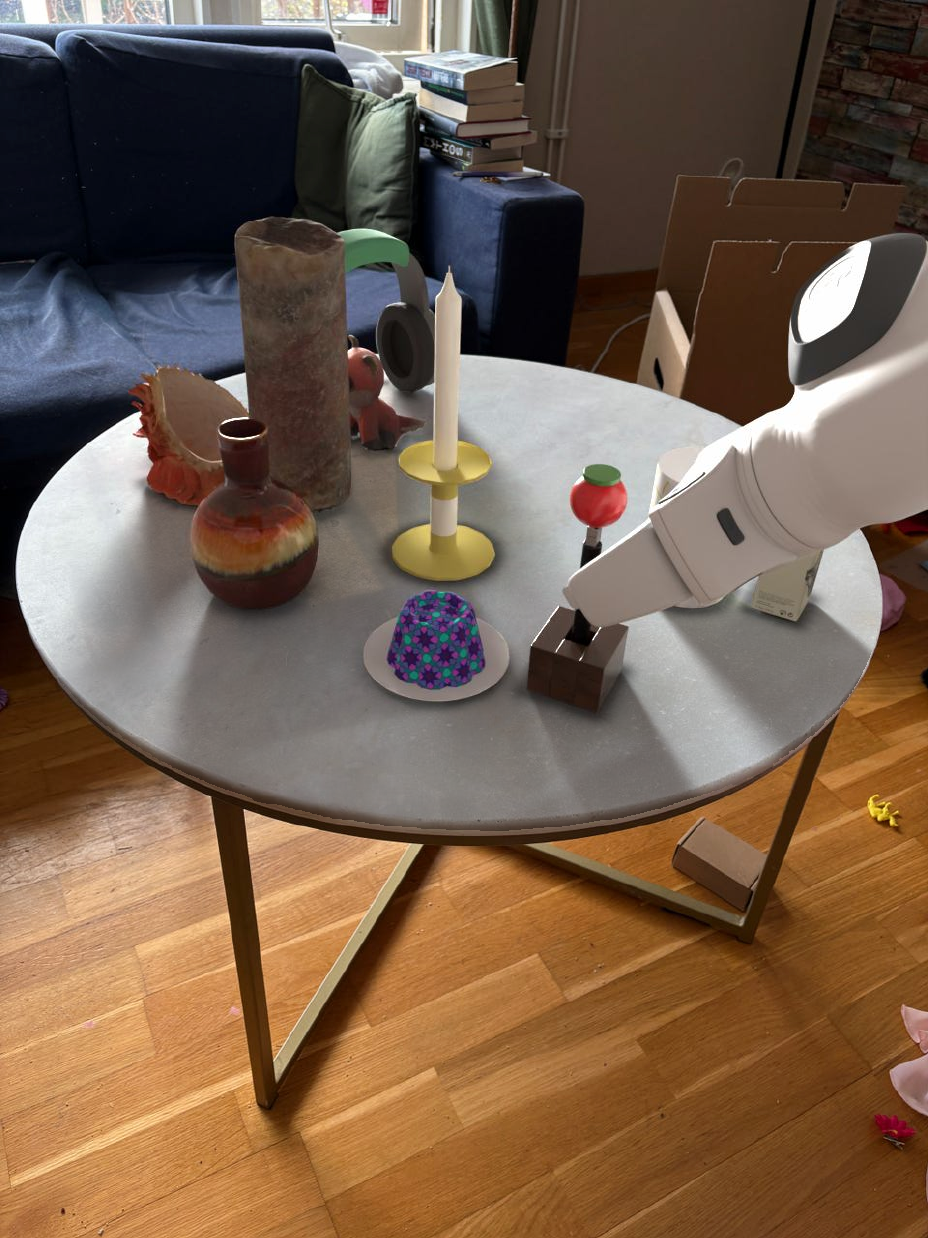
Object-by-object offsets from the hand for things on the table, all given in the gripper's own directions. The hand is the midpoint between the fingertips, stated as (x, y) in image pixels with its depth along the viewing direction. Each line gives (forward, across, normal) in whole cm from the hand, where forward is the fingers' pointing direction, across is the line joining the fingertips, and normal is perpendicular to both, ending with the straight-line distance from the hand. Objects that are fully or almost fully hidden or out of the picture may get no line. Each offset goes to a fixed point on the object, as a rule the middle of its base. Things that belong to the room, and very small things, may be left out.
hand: (610, 568), depth 69 cm
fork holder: (+9, +1, +7) cm, 11 cm away
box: (+4, -21, +12) cm, 25 cm away
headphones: (+46, -27, -29) cm, 61 cm away
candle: (+24, -6, -7) cm, 25 cm away
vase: (+29, +9, -13) cm, 34 cm away
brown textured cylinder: (+36, -4, -19) cm, 41 cm away
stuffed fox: (+38, -19, -22) cm, 48 cm away
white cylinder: (+10, -18, +6) cm, 21 cm away
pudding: (+16, +6, 0) cm, 17 cm away
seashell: (+45, -1, -28) cm, 53 cm away
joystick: (+9, +1, +7) cm, 11 cm away
